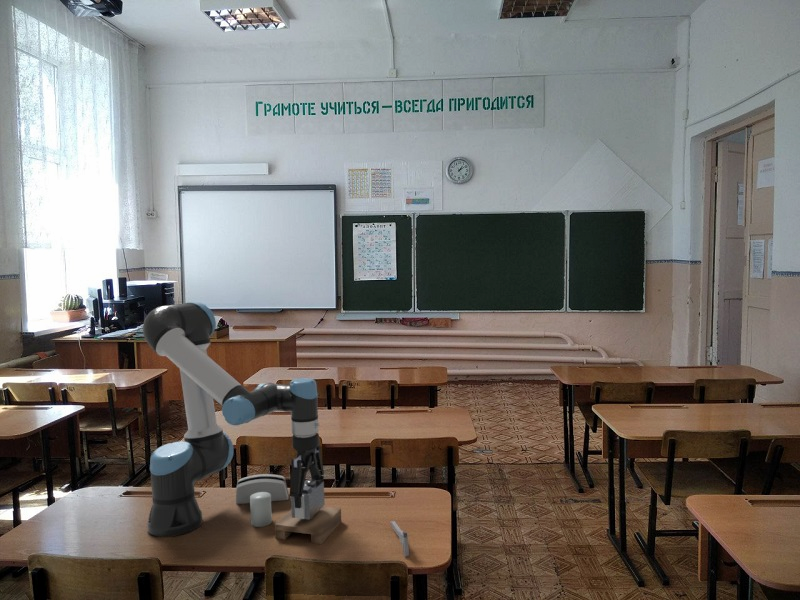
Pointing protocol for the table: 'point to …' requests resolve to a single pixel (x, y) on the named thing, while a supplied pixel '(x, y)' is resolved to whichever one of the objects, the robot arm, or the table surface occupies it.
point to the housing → (311, 498)
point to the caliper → (401, 538)
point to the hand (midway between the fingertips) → (308, 509)
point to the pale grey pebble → (260, 509)
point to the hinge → (261, 487)
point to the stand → (310, 524)
